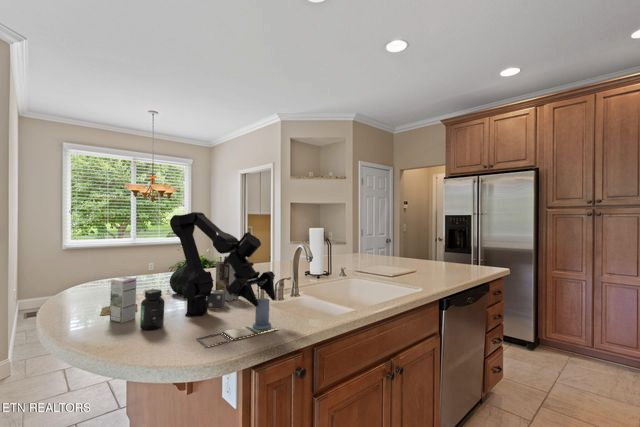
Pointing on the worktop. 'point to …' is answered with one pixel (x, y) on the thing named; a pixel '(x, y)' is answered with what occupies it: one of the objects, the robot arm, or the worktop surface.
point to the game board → (236, 334)
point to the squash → (180, 279)
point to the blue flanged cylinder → (262, 315)
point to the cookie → (108, 311)
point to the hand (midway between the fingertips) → (266, 302)
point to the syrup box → (123, 299)
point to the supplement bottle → (152, 311)
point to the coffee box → (224, 278)
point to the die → (216, 299)
